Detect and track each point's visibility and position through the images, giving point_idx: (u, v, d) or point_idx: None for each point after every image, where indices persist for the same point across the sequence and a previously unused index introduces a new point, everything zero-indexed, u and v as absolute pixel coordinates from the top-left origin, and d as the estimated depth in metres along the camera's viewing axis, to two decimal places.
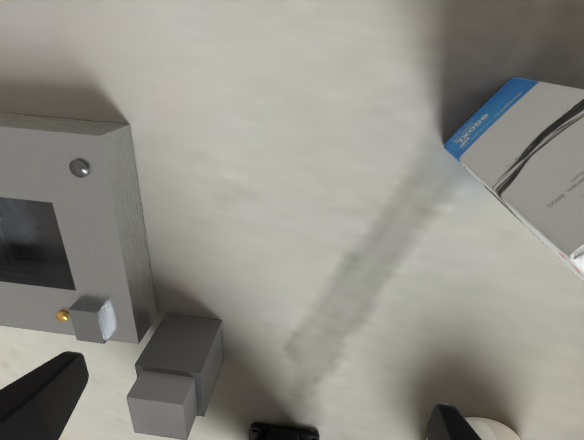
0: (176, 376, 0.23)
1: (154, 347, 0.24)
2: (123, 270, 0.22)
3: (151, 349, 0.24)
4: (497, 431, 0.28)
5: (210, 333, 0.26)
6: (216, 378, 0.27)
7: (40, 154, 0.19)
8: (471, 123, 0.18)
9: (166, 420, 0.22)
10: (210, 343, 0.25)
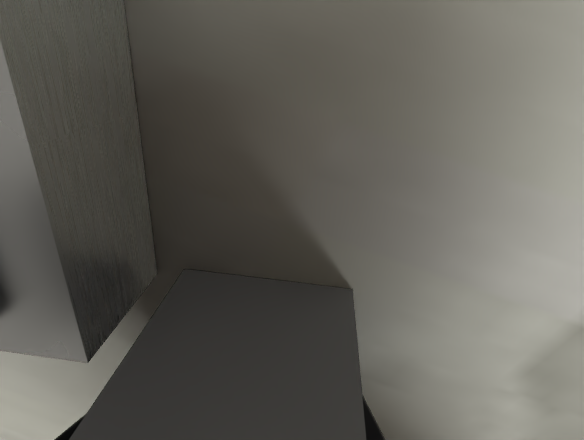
0: None
1: (144, 381, 0.06)
2: None
3: (131, 388, 0.06)
4: None
5: (336, 328, 0.08)
6: None
7: None
8: None
9: None
10: (352, 364, 0.07)
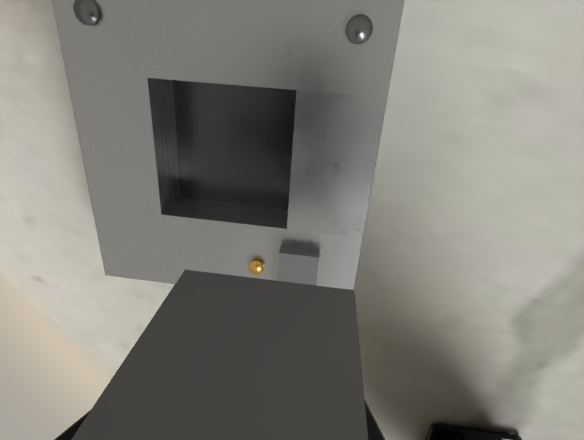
0: None
1: (145, 382, 0.06)
2: (367, 195, 0.16)
3: (132, 389, 0.06)
4: None
5: (337, 329, 0.08)
6: None
7: (304, 9, 0.13)
8: None
9: None
10: (353, 365, 0.07)
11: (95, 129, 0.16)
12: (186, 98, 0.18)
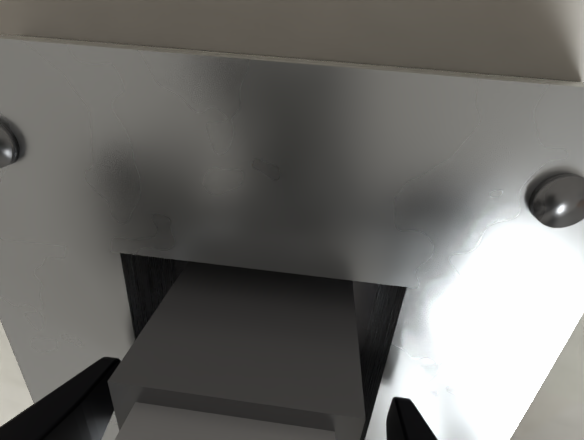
0: (265, 425, 0.06)
1: (177, 322, 0.07)
2: (507, 433, 0.09)
3: (166, 327, 0.07)
4: None
5: (336, 287, 0.09)
6: None
7: (446, 158, 0.06)
8: None
9: None
10: (349, 313, 0.08)
11: (31, 319, 0.09)
12: None
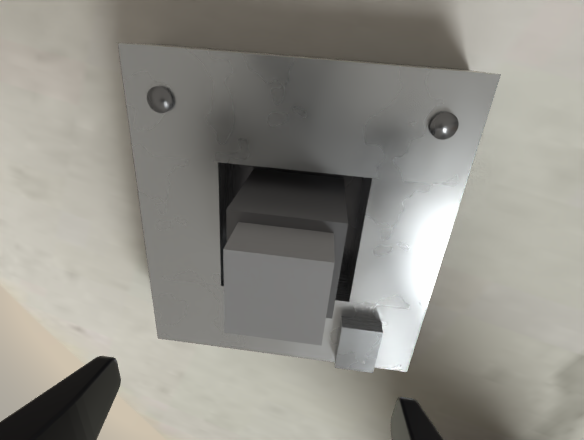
0: (301, 232, 0.13)
1: (251, 195, 0.14)
2: (434, 274, 0.16)
3: (246, 196, 0.14)
4: None
5: (334, 188, 0.16)
6: None
7: (387, 105, 0.13)
8: None
9: (292, 302, 0.12)
10: (342, 196, 0.15)
11: (159, 207, 0.16)
12: (246, 169, 0.17)
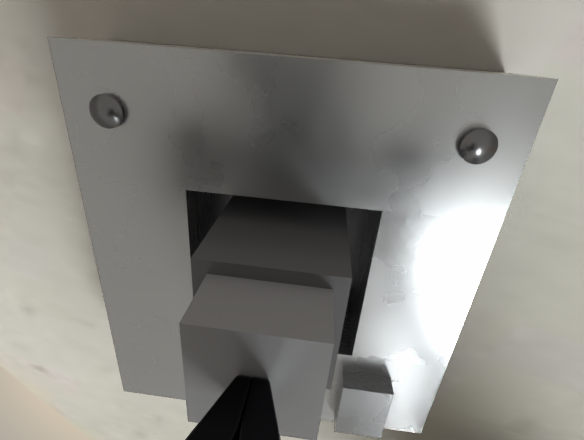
0: (289, 287, 0.10)
1: (227, 233, 0.11)
2: (458, 326, 0.13)
3: (220, 235, 0.11)
4: None
5: (334, 219, 0.12)
6: None
7: (404, 119, 0.10)
8: None
9: (277, 390, 0.09)
10: (343, 233, 0.12)
11: (115, 243, 0.13)
12: None
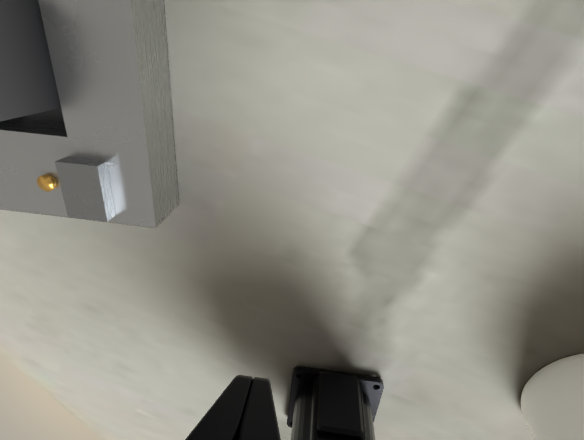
0: None
1: None
2: (137, 94, 0.15)
3: None
4: None
5: None
6: (50, 106, 0.16)
7: None
8: None
9: None
10: None
11: None
12: None
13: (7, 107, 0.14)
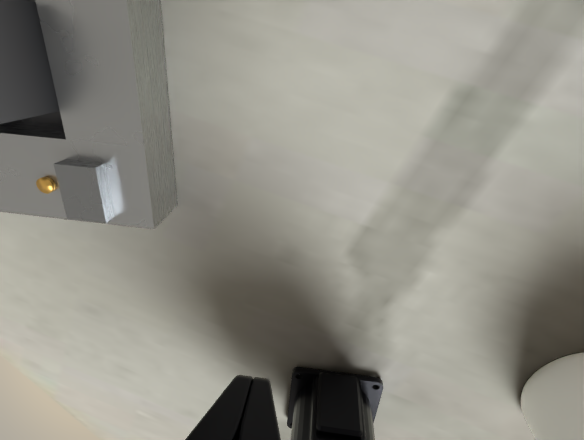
0: None
1: None
2: (135, 96, 0.15)
3: None
4: None
5: None
6: (48, 109, 0.16)
7: None
8: None
9: None
10: None
11: None
12: None
13: (6, 110, 0.14)
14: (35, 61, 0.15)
